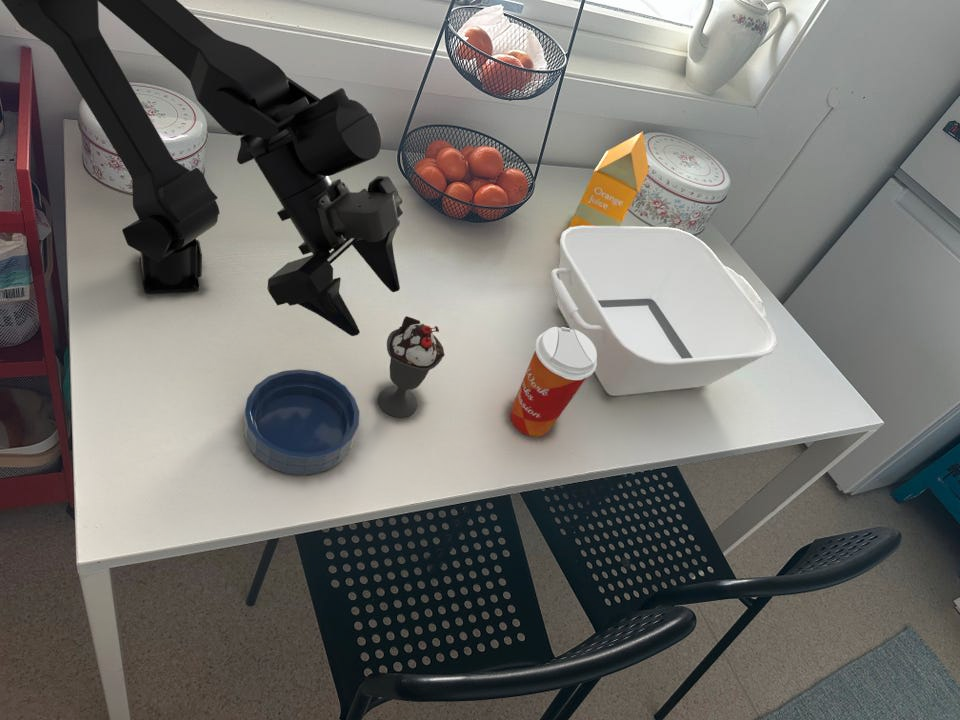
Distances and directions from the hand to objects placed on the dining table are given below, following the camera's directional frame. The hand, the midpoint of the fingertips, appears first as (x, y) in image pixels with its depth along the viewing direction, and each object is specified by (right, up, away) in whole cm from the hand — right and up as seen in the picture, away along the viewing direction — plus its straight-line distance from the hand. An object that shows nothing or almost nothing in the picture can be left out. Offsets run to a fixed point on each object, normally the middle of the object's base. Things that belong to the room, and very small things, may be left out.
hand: (377, 312), depth 80 cm
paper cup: (+18, -13, +12) cm, 26 cm away
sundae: (+1, -11, +8) cm, 13 cm away
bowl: (-9, -14, +1) cm, 16 cm away
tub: (+34, -4, +28) cm, 44 cm away
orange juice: (+30, +15, +45) cm, 56 cm away
